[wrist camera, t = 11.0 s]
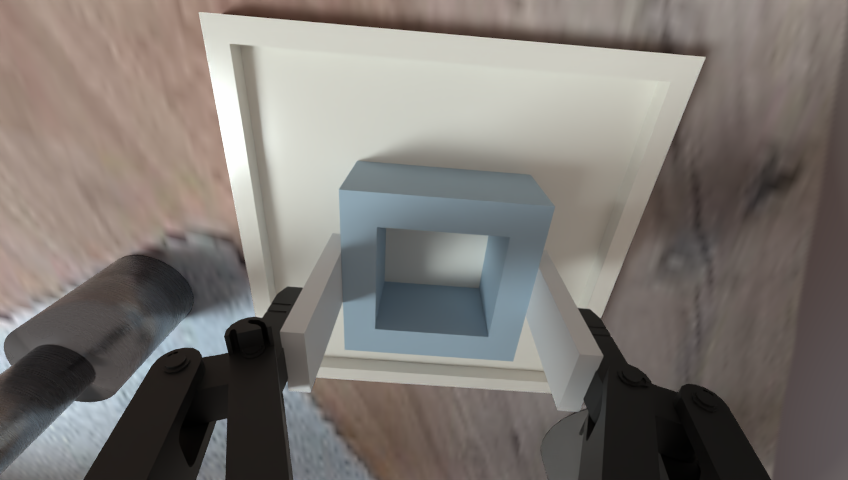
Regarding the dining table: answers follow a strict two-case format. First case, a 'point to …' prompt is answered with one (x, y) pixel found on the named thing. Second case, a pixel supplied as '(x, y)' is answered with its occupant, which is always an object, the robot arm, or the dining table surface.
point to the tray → (437, 157)
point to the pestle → (86, 345)
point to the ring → (434, 304)
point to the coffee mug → (564, 448)
